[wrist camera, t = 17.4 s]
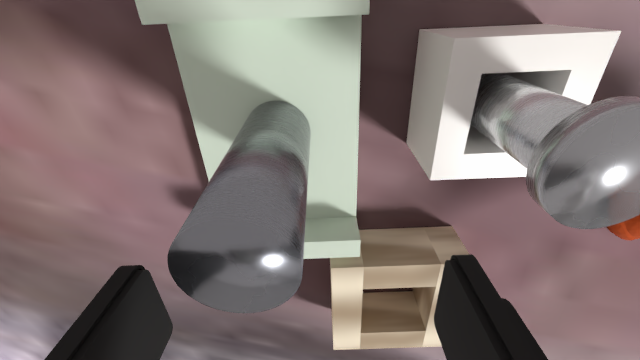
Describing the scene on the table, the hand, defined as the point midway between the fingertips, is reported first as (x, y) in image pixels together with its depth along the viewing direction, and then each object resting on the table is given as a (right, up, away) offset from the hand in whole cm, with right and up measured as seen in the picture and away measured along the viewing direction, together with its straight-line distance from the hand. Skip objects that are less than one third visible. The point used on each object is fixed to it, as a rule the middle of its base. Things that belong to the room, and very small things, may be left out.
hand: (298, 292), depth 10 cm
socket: (+7, -5, +17) cm, 19 cm away
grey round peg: (-2, +6, +9) cm, 11 cm away
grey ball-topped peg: (+10, +9, +8) cm, 16 cm away
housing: (+10, +9, +9) cm, 16 cm away
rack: (-2, +7, +10) cm, 13 cm away
